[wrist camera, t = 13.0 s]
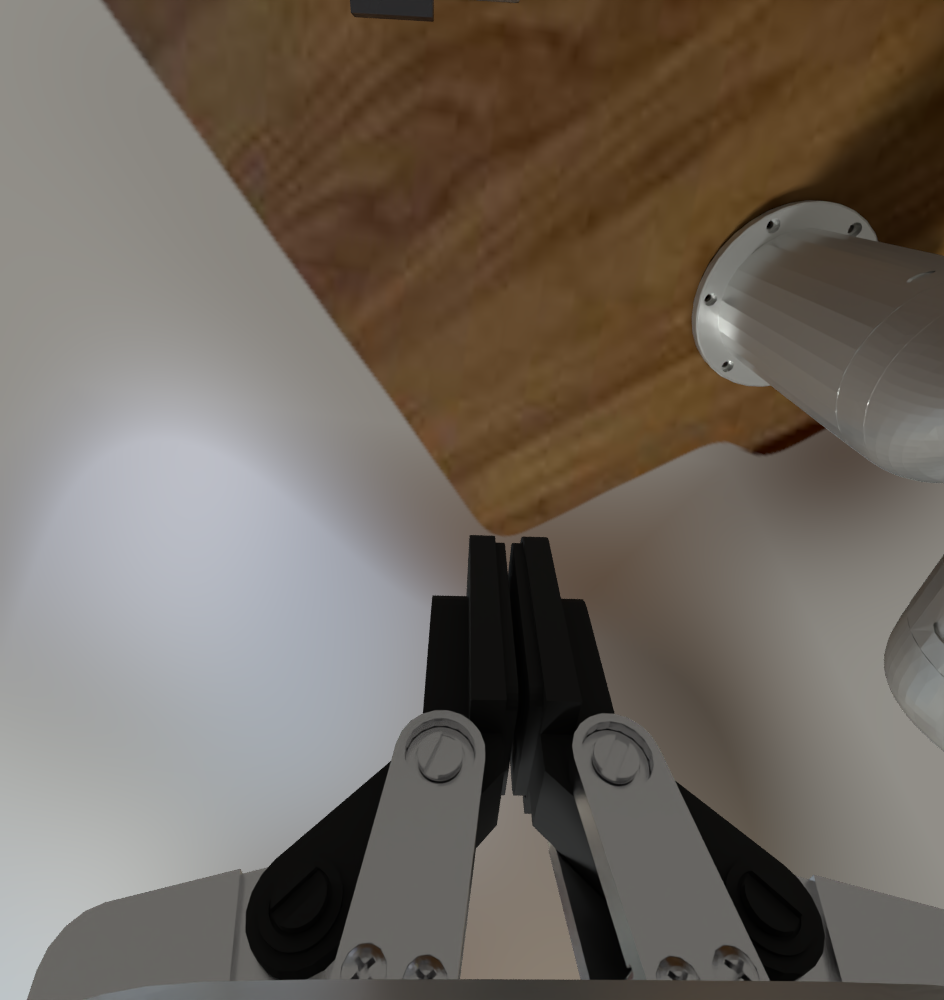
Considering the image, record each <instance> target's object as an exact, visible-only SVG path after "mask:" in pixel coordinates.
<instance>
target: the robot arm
mask: <svg viewBox="0 0 944 1000" xmlns="http://www.w3.org/2000/svg"><path fill="white" fill-rule="evenodd" d="M769 221H770V226H769V227H768V228H767V224H768V223H769ZM849 228H850V229H849ZM848 229H849V230H848ZM708 294H709V298H708V299H707V300H705V298H706V296H707V295H708ZM692 330H693V336H694V340H695V343H696V347H697V349H698V351H699V352H700V354H701V356H702V358H703V359H704V360H705V362H706V363H707V364H708V365H709V366H710V367H711V368H712V369H713V370H714V371H715V372H717V373H718V374H719V375H720V376H722V377H724V378H726V379H728V380H730V381H732V382H734V383H738V384H742V385H746V386H770V385H771V386H772V387H773V388H775V389H776V390H777V391H779V392H780V393H781V394H783V395H784V396H785V397H786V398H788V399H789V400H790V401H792V402H793V403H794V404H795V405H797V406H798V407H799V408H801V409H802V410H803V411H805V412H806V413H807V414H808V415H810V416H811V417H812V418H814V419H815V420H816V421H817V422H819V423H820V424H821V425H823V426H824V427H825V428H827V429H828V430H829V431H830V432H832V433H833V434H835V435H836V436H837V437H838V438H840V439H841V440H842V441H844V442H845V443H846V444H848V445H849V446H850V447H852V448H853V449H854V450H856V451H857V452H858V453H860V454H861V455H862V456H864V457H865V458H866V459H868V460H869V461H871V462H872V463H874V464H875V465H877V466H878V467H880V468H882V469H884V470H886V471H888V472H890V473H893V474H895V475H898V476H900V477H904V478H908V479H912V480H916V481H921V482H930V483H944V256H942V255H938V254H933V253H928V252H924V251H919V250H915V249H910V248H905V247H901V246H896V245H892V244H887V243H882V242H878V239H877V236H876V234H875V232H874V230H873V229H872V227H871V226H870V224H869V223H868V221H867V220H866V219H864V218H863V217H862V216H861V215H860V214H859V213H857V212H856V211H855V210H853V209H850V208H848V207H846V206H844V205H842V204H838V203H833V202H827V201H813V200H805V201H799V202H793V203H788V204H785V205H782V206H780V207H777V208H774V209H771V210H769V211H767V212H765V213H764V214H762V215H760V216H758V217H756V218H755V219H753V220H751V221H750V222H749V223H747V224H746V225H745V226H744V227H742V228H741V229H740V230H738V231H737V232H736V233H735V234H734V235H733V236H732V237H731V238H730V239H729V240H728V241H727V242H726V243H725V244H724V245H723V246H722V247H721V248H720V250H719V251H718V252H717V254H716V255H715V257H714V258H713V260H712V261H711V262H710V264H709V265H708V267H707V269H706V271H705V273H704V275H703V277H702V279H701V281H700V283H699V286H698V289H697V293H696V296H695V299H694V304H693V312H692ZM725 362H726V363H725ZM723 363H725V364H724V365H723ZM467 579H468V580H467V596H433V597H432V606H431V619H430V632H429V644H428V657H427V670H426V682H425V694H424V708H423V714H421V715H420V716H418V717H416V718H415V719H413V720H411V721H410V722H409V723H408V725H407V726H406V727H405V728H404V729H403V730H402V732H401V734H400V736H399V738H398V740H397V743H396V745H395V749H394V753H393V756H392V760H391V761H390V762H389V763H388V764H387V765H386V766H385V767H384V768H382V769H381V770H380V771H379V772H377V773H376V774H375V775H374V776H373V777H372V778H370V779H369V780H368V781H367V782H366V783H365V784H363V785H362V786H361V787H360V788H359V789H358V790H356V791H355V792H354V793H353V794H352V795H351V796H349V797H348V798H347V799H346V800H345V801H343V802H342V803H341V804H340V805H339V806H338V807H336V808H335V809H334V810H333V811H332V812H330V813H329V814H328V815H327V816H326V817H325V818H324V819H322V820H321V821H320V822H319V823H318V824H316V825H315V826H314V827H313V828H312V829H311V830H309V831H308V832H307V833H306V834H305V835H304V836H302V837H301V838H300V839H299V840H298V841H296V842H295V843H294V844H293V845H292V846H291V847H289V848H288V849H287V850H286V851H285V852H284V853H282V854H281V855H280V856H279V857H278V858H276V859H275V860H274V862H273V863H272V864H271V865H270V866H269V867H268V868H264V869H260V870H256V871H252V872H248V873H244V874H243V873H242V871H241V869H238V870H234V871H230V872H226V873H222V874H218V875H214V876H210V877H206V878H202V879H198V880H194V881H190V882H186V883H182V884H178V885H173V886H169V887H165V888H161V889H157V890H154V891H149V892H145V893H141V894H137V895H133V896H129V897H125V898H122V899H117V900H113V901H109V902H105V903H103V904H101V905H98V906H96V907H94V908H92V909H89V910H87V911H85V912H83V913H82V914H81V915H80V916H78V917H77V918H76V919H74V920H73V921H72V922H71V923H69V924H68V925H67V926H66V927H65V928H64V929H63V930H62V931H61V933H60V934H59V935H58V936H57V937H56V939H55V940H54V941H53V942H52V943H51V945H50V946H49V947H48V949H47V951H46V953H45V955H44V957H43V959H42V961H41V963H40V965H39V967H38V969H37V971H36V974H35V977H34V980H33V983H32V986H31V989H30V992H29V995H28V998H27V1000H944V909H940V908H936V907H933V906H929V905H925V904H921V903H918V902H914V901H910V900H906V899H903V898H899V897H895V896H891V895H887V894H884V893H880V892H876V891H873V890H868V889H865V888H861V887H857V886H854V885H850V884H846V883H843V882H839V881H835V880H831V879H827V878H824V877H820V876H816V875H813V876H812V877H811V878H810V879H805V878H802V877H798V876H795V875H794V874H793V873H792V872H791V871H790V870H788V868H787V867H785V866H784V865H783V864H782V863H781V862H779V861H778V860H777V859H775V858H774V857H773V856H772V855H770V854H769V853H768V852H766V851H765V850H764V849H762V848H761V847H760V846H759V845H757V844H756V843H755V842H754V841H752V840H751V839H750V838H748V837H747V836H746V835H744V834H743V833H742V832H741V831H739V830H738V829H737V828H735V827H734V826H733V825H732V824H730V823H729V822H728V821H727V820H725V819H724V818H723V817H721V816H720V815H719V814H717V813H716V812H715V811H714V810H712V809H711V808H710V807H708V806H707V805H706V804H705V803H703V802H702V801H701V800H699V799H698V798H697V797H696V796H694V795H693V794H691V793H690V792H689V791H688V790H686V789H685V788H684V787H683V786H681V785H680V784H679V783H677V782H676V781H675V780H674V778H673V776H672V774H671V772H670V770H669V768H668V765H667V763H666V761H665V759H664V757H663V755H662V753H661V751H660V749H659V747H658V745H657V744H656V742H655V741H654V739H653V738H652V736H651V735H650V734H649V733H648V732H647V731H646V730H645V729H644V728H643V727H642V726H641V725H639V724H637V723H636V722H634V721H632V720H631V719H629V718H627V717H623V716H620V715H617V714H614V710H613V706H612V702H611V698H610V694H609V691H608V687H607V683H606V679H605V675H604V672H603V668H602V664H601V660H600V656H599V652H598V649H597V645H596V641H595V637H594V633H593V630H592V626H591V622H590V618H589V614H588V611H587V607H586V604H585V602H584V601H583V600H582V599H561V597H560V592H559V587H558V583H557V578H556V573H555V568H554V563H553V559H552V554H551V549H550V544H549V540H548V538H546V537H522V538H521V542H520V543H512V545H511V553H510V562H509V571H508V572H507V562H506V551H505V544H504V543H496V542H495V536H482V535H480V536H479V535H470V539H469V558H468V577H467ZM884 670H885V676H886V678H887V682H888V685H889V687H890V690H891V692H892V694H893V696H894V698H895V700H896V701H897V703H898V704H899V706H900V707H901V709H902V710H903V711H904V713H905V714H906V716H907V717H908V718H909V719H910V720H911V721H912V722H913V724H914V725H915V726H916V727H917V728H918V729H919V730H920V731H921V732H922V733H923V734H924V735H926V736H927V737H928V738H929V739H930V740H931V741H932V742H933V743H934V744H935V745H936V746H938V747H939V748H940V749H941V750H942V751H943V752H944V555H943V557H942V558H941V559H940V561H939V562H938V563H937V565H936V566H935V568H934V569H933V570H932V572H931V573H930V575H929V576H928V577H927V579H926V580H925V582H924V583H923V585H922V586H921V587H920V589H919V590H918V592H917V593H916V594H915V596H914V597H913V599H912V600H911V602H910V604H909V605H908V607H907V608H906V609H905V611H904V612H903V613H902V615H901V617H900V618H899V620H898V622H897V624H896V625H895V627H894V629H893V631H892V632H891V634H890V637H889V639H888V642H887V646H886V650H885V654H884ZM509 764H510V766H511V779H512V791H513V795H523V803H524V813H525V814H527V813H528V814H532V824H533V826H534V827H535V828H536V829H537V830H538V831H539V832H540V833H541V834H542V835H543V836H544V837H545V838H546V839H547V840H548V849H549V854H550V858H551V862H552V866H553V870H554V874H555V878H556V882H557V886H558V890H559V895H560V898H561V902H562V906H563V911H564V914H565V919H566V923H567V927H568V930H569V935H570V939H571V942H572V947H573V951H574V955H575V959H576V963H577V967H578V971H579V975H580V978H581V980H502V979H500V980H498V979H497V980H494V979H491V980H490V979H481V980H479V979H473V980H472V979H460V975H461V966H462V958H463V950H464V941H465V933H466V926H467V917H468V909H469V901H470V893H471V885H472V877H473V869H474V860H475V852H476V848H477V847H478V846H479V844H480V843H481V842H482V841H483V840H484V839H485V838H486V836H487V835H488V834H489V833H490V832H491V831H492V830H493V829H494V827H495V826H496V825H497V820H498V813H499V806H500V799H501V795H505V790H506V783H507V777H508V771H509Z"/></svg>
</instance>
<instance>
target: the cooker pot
mask: <svg viewBox="0 0 944 1000" xmlns="http://www.w3.org/2000/svg"><path fill="white" fill-rule="evenodd" d="M479 1H496V2H513V3H518V2H519V0H479ZM350 6H351V13H352V14H353V16H354V17H362V18H380V19H397V20H414V21H431V22H434V0H350Z"/></svg>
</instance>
